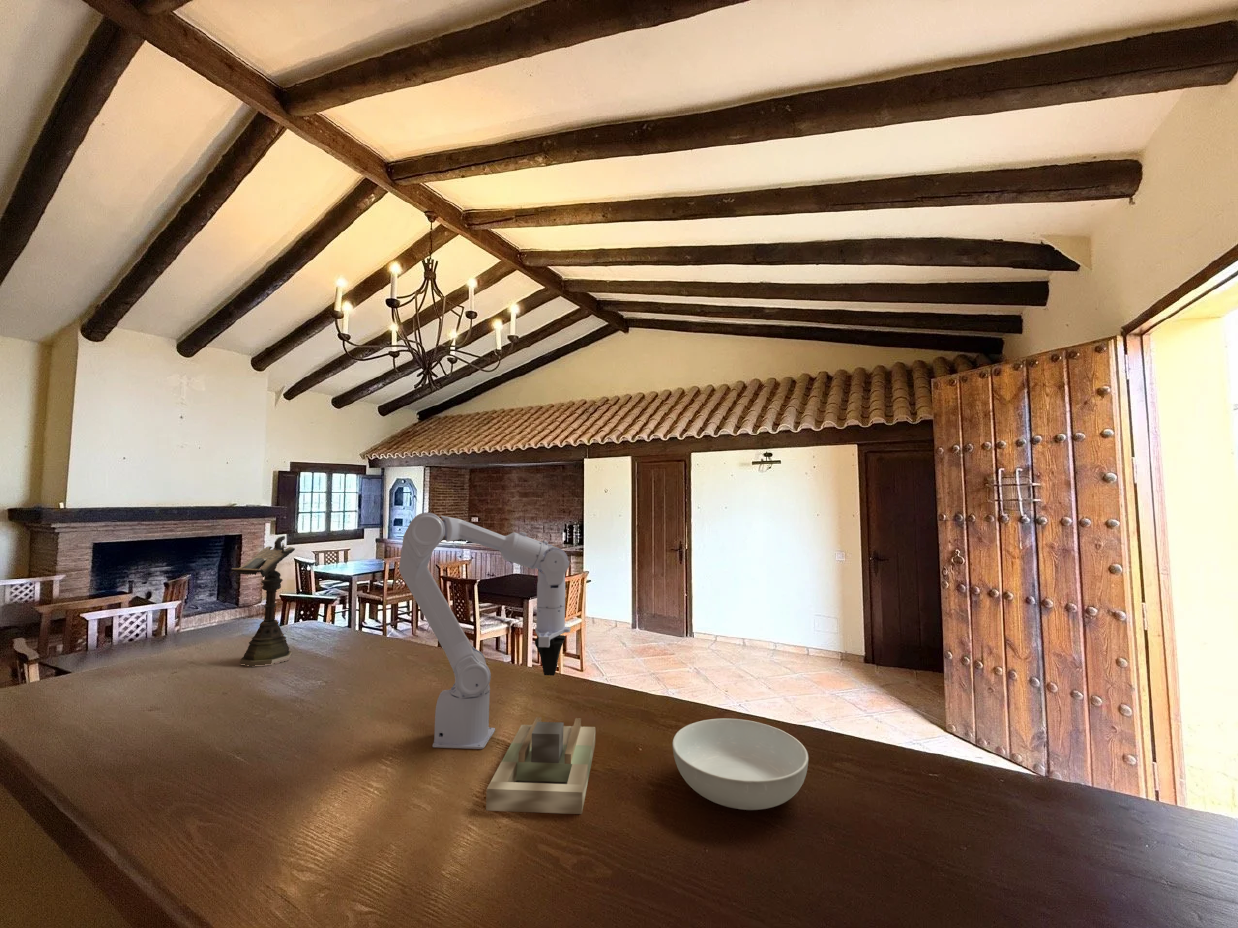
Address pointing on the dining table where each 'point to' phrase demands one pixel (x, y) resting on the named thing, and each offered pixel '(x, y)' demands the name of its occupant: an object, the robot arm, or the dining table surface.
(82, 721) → the dining table surface
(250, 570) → the lectern
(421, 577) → the robot arm
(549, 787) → the railed deck
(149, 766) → the dining table surface
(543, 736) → the charcoal block
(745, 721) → the serving bowl
